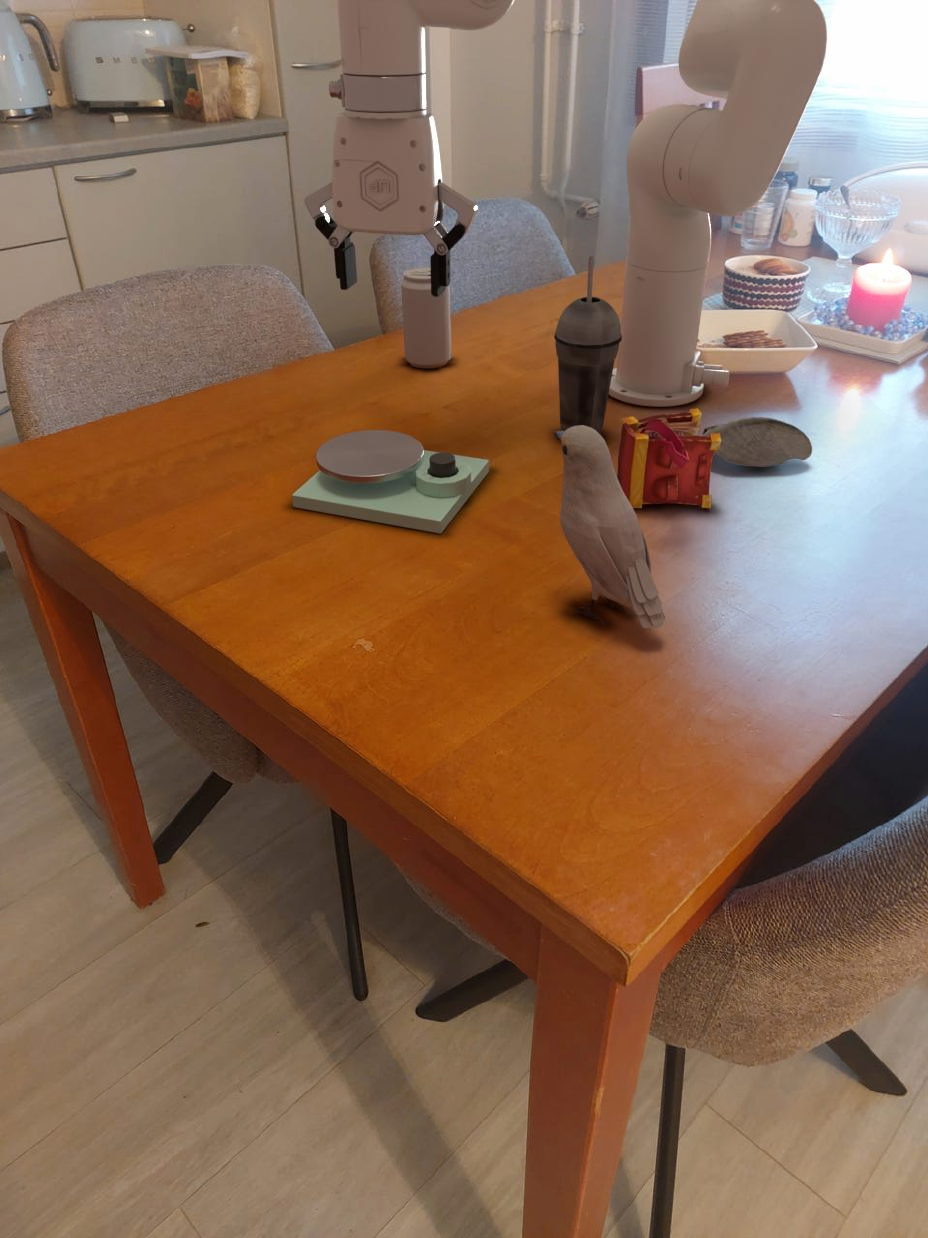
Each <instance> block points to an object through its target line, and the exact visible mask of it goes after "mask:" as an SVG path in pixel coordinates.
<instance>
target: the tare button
mask: <svg viewBox="0 0 928 1238" xmlns="http://www.w3.org/2000/svg"><path fill="white" fill-rule="evenodd" d="M454 455H455V454H452V453H451V452H439V453H436V454H433V455H432V456H430V459H429V461H430V475H431V476H433V477H437V478H448V477H452V476H454V475H455V474H456V458H455V456H454Z"/></svg>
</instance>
